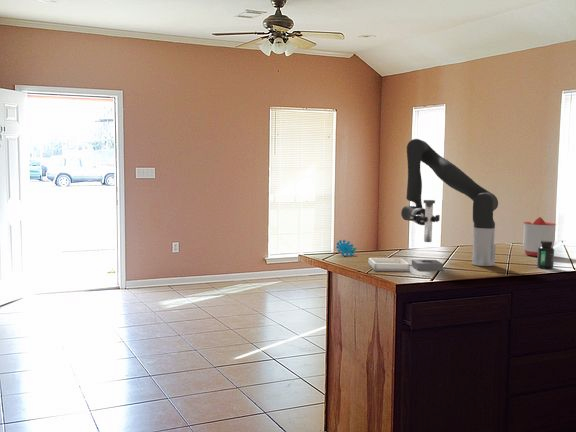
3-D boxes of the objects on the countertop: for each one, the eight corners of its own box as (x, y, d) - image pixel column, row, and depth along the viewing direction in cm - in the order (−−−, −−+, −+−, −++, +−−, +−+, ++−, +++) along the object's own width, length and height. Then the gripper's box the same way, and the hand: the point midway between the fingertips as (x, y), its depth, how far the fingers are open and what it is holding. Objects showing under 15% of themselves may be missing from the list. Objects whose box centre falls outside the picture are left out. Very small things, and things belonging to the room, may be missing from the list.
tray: (401, 264, 279) (401, 258, 279) (409, 271, 262) (409, 264, 262) (368, 264, 279) (368, 257, 279) (374, 270, 262) (374, 263, 262)
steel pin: (431, 241, 273) (433, 200, 271) (434, 242, 268) (436, 200, 266) (421, 241, 272) (422, 199, 271) (423, 242, 268) (425, 200, 266)
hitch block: (435, 266, 277) (436, 259, 276) (442, 270, 266) (442, 263, 266) (411, 266, 276) (411, 259, 276) (417, 270, 265) (417, 263, 265)
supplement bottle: (543, 269, 276) (545, 242, 275) (533, 266, 282) (535, 240, 281) (556, 268, 278) (558, 242, 277) (546, 266, 284) (547, 240, 283)
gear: (338, 253, 299) (335, 237, 305) (334, 260, 303) (331, 244, 310) (359, 256, 302) (356, 240, 308) (354, 263, 306) (351, 247, 313)
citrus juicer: (547, 253, 328) (549, 216, 326) (558, 258, 311) (560, 218, 309) (517, 252, 330) (519, 215, 328) (526, 257, 312) (528, 217, 311)
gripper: (405, 207, 283) (414, 210, 266) (436, 208, 283) (446, 211, 266) (405, 224, 284) (413, 228, 266) (435, 224, 284) (446, 228, 267)
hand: (430, 219), depth 266 cm, fingers closed on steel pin, 3 cm apart
